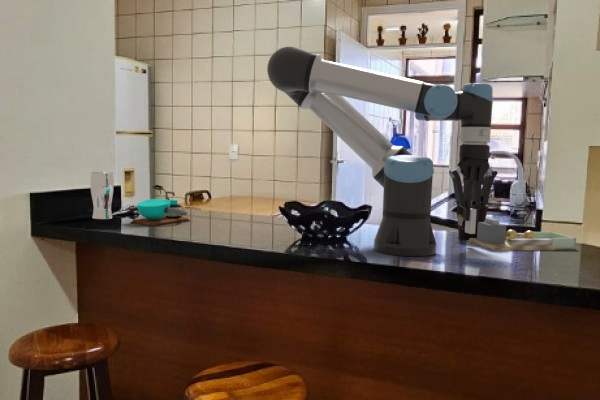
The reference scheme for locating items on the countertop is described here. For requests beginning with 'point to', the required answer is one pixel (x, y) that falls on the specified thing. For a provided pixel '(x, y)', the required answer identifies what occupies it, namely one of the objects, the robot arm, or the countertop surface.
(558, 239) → the tray
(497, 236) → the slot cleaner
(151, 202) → the contraption on wooden base
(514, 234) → the brass ball
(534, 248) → the jig board
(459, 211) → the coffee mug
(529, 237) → the brass ball
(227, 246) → the countertop surface
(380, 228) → the robot arm
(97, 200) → the beer glass
